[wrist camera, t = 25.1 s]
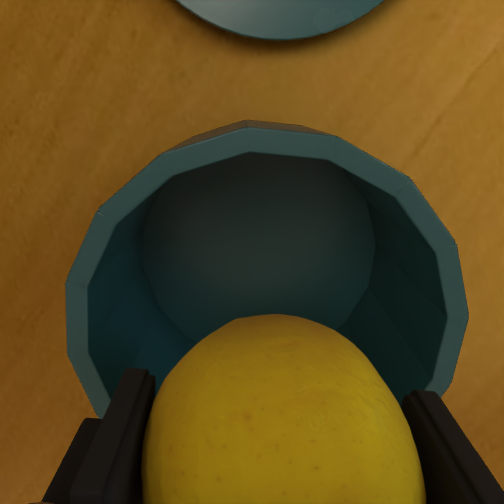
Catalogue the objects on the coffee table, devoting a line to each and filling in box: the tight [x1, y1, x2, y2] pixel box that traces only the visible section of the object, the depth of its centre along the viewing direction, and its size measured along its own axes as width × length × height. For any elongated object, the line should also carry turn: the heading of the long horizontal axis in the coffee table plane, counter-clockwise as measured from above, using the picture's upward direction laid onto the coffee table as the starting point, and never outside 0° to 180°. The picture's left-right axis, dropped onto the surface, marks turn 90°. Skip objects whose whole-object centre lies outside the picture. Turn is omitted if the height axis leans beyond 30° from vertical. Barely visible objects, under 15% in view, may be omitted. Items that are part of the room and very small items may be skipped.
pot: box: [65, 120, 469, 419], centre depth 21 cm, size 15×15×10 cm
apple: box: [141, 314, 426, 504], centre depth 11 cm, size 6×6×8 cm
